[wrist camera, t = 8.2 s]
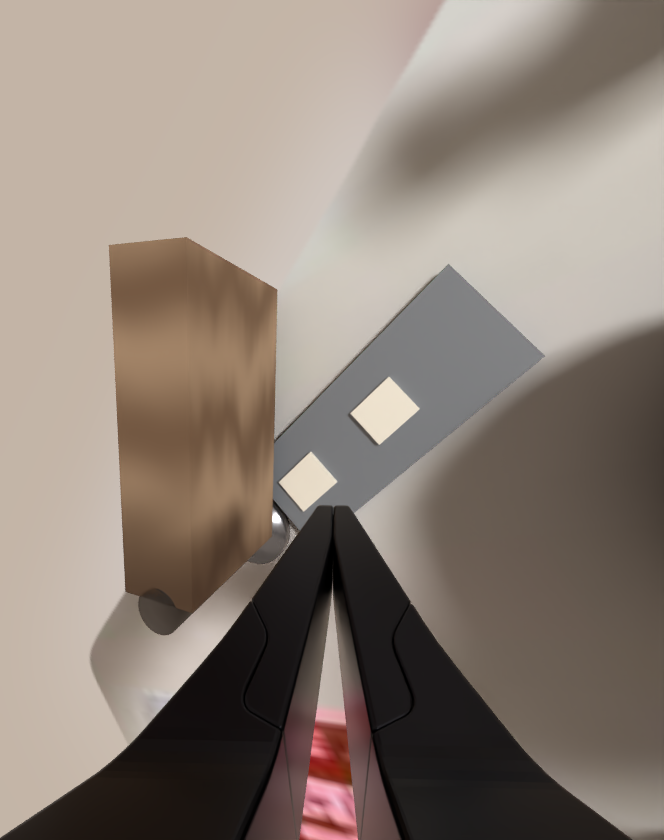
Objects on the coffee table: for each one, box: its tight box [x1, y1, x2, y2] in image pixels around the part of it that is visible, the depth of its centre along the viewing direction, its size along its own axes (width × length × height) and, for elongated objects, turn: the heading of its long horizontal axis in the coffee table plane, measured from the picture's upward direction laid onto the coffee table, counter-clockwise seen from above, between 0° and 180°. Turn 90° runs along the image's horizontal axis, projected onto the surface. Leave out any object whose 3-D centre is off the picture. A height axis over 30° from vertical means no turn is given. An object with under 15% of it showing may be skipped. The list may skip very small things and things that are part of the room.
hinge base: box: [247, 501, 290, 564], centre depth 24 cm, size 5×5×1 cm
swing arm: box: [109, 237, 277, 635], centre depth 18 cm, size 18×4×8 cm, turn 177°
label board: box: [273, 264, 545, 531], centre depth 20 cm, size 18×7×1 cm, turn 134°
